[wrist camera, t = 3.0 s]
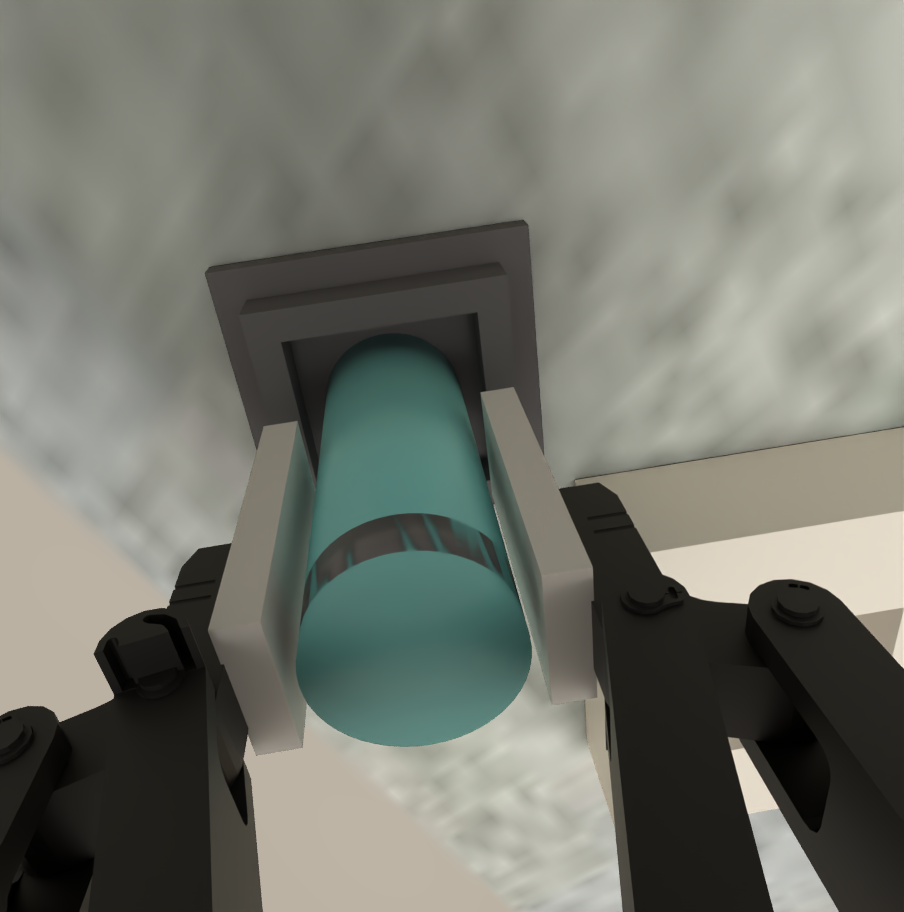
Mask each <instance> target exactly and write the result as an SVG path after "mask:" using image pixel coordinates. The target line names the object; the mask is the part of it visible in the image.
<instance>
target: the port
mask: <svg viewBox="0 0 904 912" xmlns="http://www.w3.org/2000/svg"><path fill="white" fill-rule="evenodd" d="M598 482H599V483H600V484H602V485H603V486H605V487H606V488H608V489H609V490H611V491H612V492H614V493H615V494H617V495H618V497H619V499H620V500H621V502H622V504H623V506H624V507H625V509H626V511H627V514H628V515H629V516H630V518H631V520H632V522H633V523H634V527H635V528H636V529H637V530H638V532H639V534H640V536H641V537H642V539H643V541H644V543H645V545H646V546H647V548H648V550H649V552H650V553H651V555H652V557H653V559H654V560H655V562H656V564H657V566H658V568H659V569H660V571H661V573H662V575H665V576H668V577H671V578H673V579H675V580H676V581H677V582H679V583H680V584H681V585H683V586H684V587H685V588H686V590H687V592H688V593H689V595H690V596H692V597H695V598H698V599H702V600H707V601H714V602H726V603H741V604H748V602H749V597H750V593H751V592H752V591H753V590H755V589H756V588H757V587H758V586H759V585H761V584H764V583H766V582H769V581H772V580H782V579H794V580H800V581H805V582H810V583H813V584H815V585H817V586H820V587H822V588H825V589H827V590H828V591H830V592H831V593H832V594H834V595H835V596H836V597H837V598H839V599H840V600H841V601H842V602H843V603H844V604H845V605H846V606H847V607H848V608H849V610H850V611H851V612H852V613H853V614H854V615H855V616H856V617H857V618H858V619H859V620H860V622H861V623H862V624H863V625H864V626H865V627H866V628H867V629H868V630H869V631H870V632H871V634H872V635H873V636H874V637H875V638H876V639H877V640H878V641H879V642H880V643H881V644H882V645H883V647H884V648H885V649H886V650H887V651H888V652H889V653H890V654H891V655H892V656H893V657H894V659H895V660H896V661H897V662H898V663H899V664H900V665H901V666H902V667H903V668H904V427H902V428H896V429H889V430H883V431H877V432H871V433H865V434H858V435H852V436H846V437H840V438H833V439H827V440H821V441H815V442H809V443H802V444H796V445H790V446H784V447H778V448H771V449H765V450H759V451H753V452H746V453H740V454H734V455H728V456H722V457H715V458H709V459H703V460H697V461H691V462H684V463H678V464H672V465H666V466H659V467H653V468H647V469H641V470H635V471H628V472H622V473H616V474H610V475H604V476H597V477H591V478H585V479H579V480H575V486H579V485H585V484H592V483H598ZM585 711H586V733H587V742H588V745H589V749H590V752H591V755H592V758H593V761H594V764H595V767H596V770H597V773H598V777H599V780H600V783H601V786H602V789H603V792H604V795H605V798H606V802H607V805H608V808H609V811H610V814H611V817H612V820H613V823H614V827H615V821H614V810H613V799H612V789H611V778H610V767H609V756H608V750H606V735H605V699H604V695H603V692H602V690H601V687H600V684H599V682H598V679H597V698H593V699H587V700H585ZM728 740H729V744H730V747H731V751H732V755H733V759H734V763H735V766H736V770H737V774H738V778H739V782H740V785H741V789H742V793H743V797H744V801H745V804H746V808H747V812H748V814H749V813H754V812H760V811H766V810H772V809H777V808H779V807H778V806H777V804H776V802H775V800H774V799H773V797H772V795H771V794H770V792H769V790H768V788H767V787H766V785H765V783H764V782H763V780H762V778H761V776H760V775H759V773H758V771H757V769H756V768H755V766H754V764H753V763H752V761H751V759H750V757H749V756H748V754H747V752H746V751H745V749H744V747H743V745H742V744H741V742H740V740H739V738H731V737H728Z"/></svg>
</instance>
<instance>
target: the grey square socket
mask: <svg viewBox="0 0 904 912" xmlns="http://www.w3.org/2000/svg"><path fill="white" fill-rule="evenodd" d="M205 276H206V279H207V283H208V286H209V289H210V293H211V296H212V300H213V303H214V306H215V310H216V313H217V316H218V320H219V323H220V327H221V330H222V333H223V337H224V340H225V344H226V347H227V350H228V354H229V357H230V361H231V364H232V367H233V371H234V374H235V378H236V381H237V384H238V388H239V391H240V395H241V398H242V401H243V405H244V408H245V412H246V415H247V418H248V422H249V425H250V429H251V432H252V435H253V439H254V442H255V446H256V449H258V445H259V442H260V438H261V435H262V431H263V427H264V426H269V425H275V424H281V423H288V422H294V421H298V424H299V428H300V432H301V436H302V440H303V444H304V448H305V452H306V456H307V459H308V463H309V467H310V471H311V475H312V479H313V483H314V487H315V491H316V482H317V473H318V465H319V456H320V447H321V439H322V430H323V421H324V413H325V404H326V396H327V387H328V381H329V378H330V375H331V372H332V370H333V368H334V366H335V365H336V363H337V361H338V360H339V359H340V358H341V356H342V355H343V354H344V353H345V352H346V351H347V350H348V349H349V348H351V347H352V346H354V345H355V344H357V343H358V342H360V341H362V340H364V339H366V338H369V337H372V336H375V335H380V334H387V333H402V334H408V335H412V336H416V337H419V338H421V339H423V340H426V341H427V342H429V343H431V344H432V345H434V346H435V347H437V348H438V349H439V350H440V351H441V352H442V353H443V354H444V355H445V356H446V357H447V358H448V360H449V361H450V363H451V364H452V366H453V368H454V370H455V372H456V375H457V378H458V381H459V385H460V388H461V392H462V396H463V399H464V403H465V406H466V410H467V413H468V417H469V421H470V424H471V428H472V431H473V435H474V438H475V442H476V446H477V449H478V453H479V456H480V460H481V463H482V467H483V471H484V474H485V478H486V481H487V485H488V488H489V492H490V496H491V499H492V503H493V504H495V503H494V499H493V496H492V489H491V481H490V472H489V463H488V454H487V446H486V437H485V428H484V419H483V411H482V402H481V393H480V392H486V391H492V390H498V389H505V388H511V387H514V389H515V391H516V394H517V396H518V398H519V400H520V403H521V405H522V407H523V409H524V412H525V414H526V416H527V419H528V421H529V423H530V425H531V428H532V430H533V432H534V434H535V437H536V439H537V441H538V444H539V446H540V448H541V450H542V453H543V455H544V445H543V430H542V416H541V402H540V387H539V373H538V359H537V344H536V330H535V316H534V301H533V287H532V273H531V258H530V244H529V230H528V224H527V223H526V222H525V221H524V220H521V221H514V222H507V223H501V224H494V225H487V226H481V227H474V228H467V229H461V230H454V231H447V232H441V233H434V234H427V235H421V236H414V237H407V238H401V239H394V240H387V241H381V242H374V243H367V244H361V245H354V246H348V247H341V248H334V249H328V250H321V251H314V252H308V253H301V254H294V255H288V256H281V257H274V258H268V259H261V260H254V261H248V262H241V263H234V264H228V265H221V266H214V267H209V269H208V270H207V271H206V273H205Z"/></svg>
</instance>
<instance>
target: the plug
mask: <svg viewBox="0 0 904 912" xmlns="http://www.w3.org/2000/svg"><path fill="white" fill-rule="evenodd" d="M531 659H532V646H531V640H530V635H529V631H528V628H527V624H526V621H525V617H524V614H523V610H522V606H521V603H520V599H519V596H518V592H517V589H516V585H515V581H514V578H513V574H512V571H511V567H510V564H509V560H508V556H507V553H506V549H505V546H504V542H503V539H502V535H501V531H500V528H499V524H498V521H497V517H496V514H495V510H494V506H493V503H492V499H491V496H490V492H489V488H488V485H487V481H486V478H485V474H484V471H483V467H482V463H481V460H480V456H479V453H478V449H477V446H476V442H475V438H474V435H473V431H472V428H471V424H470V421H469V417H468V413H467V410H466V406H465V403H464V399H463V396H462V392H461V388H460V385H459V381H458V378H457V375H456V372H455V370H454V368H453V366H452V364H451V363H450V361H449V360H448V358H447V357H446V356H445V355H444V354H443V353H442V352H441V351H440V350H439V349H438V348H437V347H435V346H434V345H432V344H431V343H429V342H427V341H426V340H423V339H421V338H419V337H416V336H412V335H408V334H402V333H387V334H380V335H375V336H372V337H369V338H366V339H364V340H362V341H360V342H358V343H357V344H355V345H354V346H352V347H351V348H349V349H348V350H347V351H346V352H345V353H344V354H343V355H342V356H341V358H340V359H339V360H338V361H337V363H336V365H335V366H334V368H333V370H332V372H331V375H330V378H329V381H328V387H327V396H326V404H325V413H324V421H323V430H322V439H321V447H320V456H319V465H318V473H317V482H316V491H315V499H314V508H313V517H312V525H311V534H310V543H309V551H308V560H307V568H306V577H305V586H304V594H303V603H302V612H301V620H300V629H299V638H298V646H297V655H296V676H297V681H298V685H299V688H300V690H301V692H302V695H303V697H304V698H305V700H306V702H307V703H308V705H309V706H310V707H311V709H312V710H313V711H314V712H315V713H316V714H317V715H318V716H319V717H320V718H321V719H322V720H324V721H325V722H326V723H327V724H329V725H330V726H332V727H333V728H335V729H336V730H338V731H340V732H342V733H344V734H346V735H348V736H351V737H354V738H356V739H359V740H362V741H366V742H370V743H374V744H380V745H386V746H400V747H408V746H423V745H431V744H436V743H440V742H445V741H448V740H452V739H455V738H458V737H461V736H463V735H465V734H468V733H470V732H473V731H474V730H476V729H478V728H480V727H482V726H484V725H485V724H487V723H488V722H490V721H491V720H493V719H494V718H495V717H497V716H498V715H499V714H500V713H501V712H503V711H504V710H505V709H506V708H507V707H508V706H509V705H510V704H511V702H512V701H513V700H514V699H515V697H516V696H517V695H518V693H519V692H520V690H521V689H522V687H523V685H524V683H525V681H526V679H527V676H528V673H529V670H530V665H531Z"/></svg>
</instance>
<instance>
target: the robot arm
mask: <svg viewBox="0 0 904 912" xmlns="http://www.w3.org/2000/svg"><path fill="white" fill-rule="evenodd" d="M480 393H481V402H482V411H483V419H484V428H485V437H486V446H487V454H488V463H489V472H490V481H491V489H492V496H493V499H494V503H495V506H496V510H497V513H498V517H499V520H500V524H501V527H502V531H503V534H504V538H505V541H506V545H507V548H508V552H509V555H510V559H511V563H512V566H513V570H514V573H515V577H516V580H517V584H518V587H519V591H520V594H521V598H522V601H523V605H524V608H525V612H526V615H527V619H528V622H529V626H530V629H531V633H532V636H533V640H534V643H535V647H536V650H537V654H538V658H539V661H540V665H541V668H542V672H543V675H544V679H545V682H546V686H547V689H548V693H549V696H550V700H551V703H552V705H557V704H563V703H569V702H575V701H581V700H587V699H593V698H597V679H598V682H599V684H600V687H601V690H602V692H603V695H604V699H605V735H606V750H608V756H609V767H610V778H611V789H612V799H613V810H614V821H615V832H616V843H617V854H618V864H619V875H620V886H621V897H622V908H623V912H774V911H773V907H772V903H771V900H770V896H769V892H768V888H767V884H766V881H765V877H764V873H763V869H762V865H761V862H760V858H759V854H758V850H757V846H756V843H755V839H754V835H753V831H752V827H751V823H750V820H749V816H748V812H747V808H746V804H745V801H744V797H743V793H742V789H741V785H740V782H739V778H738V774H737V770H736V766H735V763H734V759H733V755H732V751H731V747H730V744H729V740H728V737H731V738H739V740H740V742H741V744H742V745H743V747H744V749H745V751H746V752H747V754H748V756H749V757H750V759H751V761H752V763H753V764H754V766H755V768H756V769H757V771H758V773H759V775H760V776H761V778H762V780H763V782H764V783H765V785H766V787H767V788H768V790H769V792H770V794H771V795H772V797H773V799H774V800H775V802H776V804H777V806H778V807H779V809H780V811H781V812H782V814H783V816H784V818H785V819H786V821H787V823H788V824H789V826H790V828H791V830H792V831H793V833H794V835H795V837H796V838H797V840H798V842H799V843H800V845H801V847H802V849H803V850H804V852H805V854H806V855H807V857H808V859H809V861H810V862H811V864H812V866H813V867H814V869H815V871H816V873H817V874H818V876H819V878H820V879H821V881H822V883H823V885H824V886H825V888H826V890H827V892H828V893H829V895H830V897H831V898H832V900H833V902H834V904H835V905H836V907H837V909H838V910H839V912H904V668H903V667H902V666H901V665H900V664H899V663H898V662H897V661H896V660H895V659H894V657H893V656H892V655H891V654H890V653H889V652H888V651H887V650H886V649H885V648H884V647H883V645H882V644H881V643H880V642H879V641H878V640H877V639H876V638H875V637H874V636H873V635H872V634H871V632H870V631H869V630H868V629H867V628H866V627H865V626H864V625H863V624H862V623H861V622H860V620H859V619H858V618H857V617H856V616H855V615H854V614H853V613H852V612H851V611H850V610H849V608H848V607H847V606H846V605H845V604H844V603H843V602H842V601H841V600H840V599H839V598H837V597H836V596H835V595H834V594H832V593H831V592H830V591H828V590H827V589H825V588H822V587H820V586H817V585H815V584H813V583H810V582H805V581H800V580H794V579H782V580H772V581H769V582H766V583H764V584H761V585H759V586H758V587H757V588H756V589H755V590H753V591H752V592H751V593H750V597H749V602H748V604H741V603H726V602H714V601H707V600H702V599H698V598H695V597H692V596H690V595H689V593H688V592H687V590H686V588H685V587H684V586H683V585H681V584H680V583H679V582H677V581H676V580H675V579H673V578H671V577H668V576H665V575H662V573H661V571H660V569H659V568H658V566H657V564H656V562H655V560H654V559H653V557H652V555H651V553H650V552H649V550H648V548H647V546H646V545H645V543H644V541H643V539H642V537H641V536H640V534H639V532H638V530H637V529H636V528H635V527H634V523H633V522H632V520H631V518H630V516H629V515H628V514H627V511H626V509H625V507H624V506H623V504H622V502H621V500H620V499H619V497H618V495H617V494H615V493H614V492H612V491H611V490H609V489H608V488H606V487H605V486H603V485H602V484H600V483H599V482H598V483H592V484H585V485H579V486H573V487H567V488H561V489H558V487H557V485H556V482H555V480H554V478H553V475H552V473H551V471H550V469H549V466H548V464H547V462H546V460H545V457H544V455H543V453H542V450H541V448H540V446H539V444H538V441H537V439H536V437H535V434H534V432H533V430H532V428H531V425H530V423H529V421H528V419H527V416H526V414H525V412H524V409H523V407H522V405H521V403H520V400H519V398H518V396H517V394H516V391H515V389H514V387H511V388H505V389H498V390H492V391H486V392H480ZM314 499H315V487H314V483H313V479H312V475H311V471H310V467H309V463H308V459H307V456H306V452H305V448H304V444H303V440H302V436H301V432H300V428H299V424H298V421H294V422H288V423H281V424H275V425H269V426H264V427H263V431H262V435H261V438H260V442H259V445H258V449H257V453H256V456H255V460H254V464H253V467H252V471H251V475H250V478H249V482H248V486H247V489H246V493H245V497H244V500H243V504H242V508H241V511H240V515H239V518H238V522H237V526H236V529H235V533H234V537H233V540H232V543H231V544H224V545H218V546H212V547H206V548H200V549H198V550H197V551H196V552H195V553H194V554H193V555H192V556H191V558H190V559H189V560H188V561H187V562H186V563H185V564H184V565H183V566H182V568H181V571H180V573H179V576H178V579H177V582H176V585H175V590H173V593H172V596H171V599H170V601H169V603H170V606H168V607H167V609H165V608H159V609H153V610H147V611H143V612H141V613H138V614H136V615H133V616H131V617H128V618H126V619H125V620H123V621H122V622H120V623H119V624H117V625H116V626H114V627H113V628H111V629H110V630H109V631H108V632H107V633H106V634H105V636H104V637H103V638H102V639H101V640H100V641H99V643H98V646H97V648H96V650H95V652H94V656H95V658H96V660H97V662H98V664H99V666H100V668H101V669H102V672H103V674H104V675H105V678H106V679H107V681H108V683H109V685H110V687H111V689H112V691H113V693H114V699H112V700H111V701H109V702H107V703H105V704H103V705H101V706H99V707H96V708H94V709H92V710H89V711H87V712H84V713H82V714H79V715H77V716H74V717H72V718H70V719H67V720H65V721H62V722H59V720H58V719H57V717H56V715H55V713H54V712H53V711H51V710H49V709H47V708H45V707H43V706H27V707H23V708H20V709H16V710H12V711H9V712H7V713H5V714H3V715H1V716H0V912H263V910H262V898H261V888H260V876H259V864H258V853H257V842H256V831H255V821H254V808H253V797H252V786H251V778H250V775H249V772H248V770H247V767H246V765H245V762H244V760H243V758H244V752H245V747H246V741H247V735H248V736H249V738H250V741H251V743H252V746H253V749H254V751H255V754H256V756H257V755H263V754H269V753H275V752H281V751H286V750H292V749H298V748H303V738H304V727H305V716H306V705H307V702H306V700H305V698H304V697H303V695H302V692H301V690H300V688H299V685H298V681H297V676H296V655H297V646H298V638H299V629H300V620H301V612H302V603H303V594H304V586H305V577H306V568H307V560H308V551H309V543H310V534H311V525H312V517H313V508H314Z"/></svg>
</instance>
